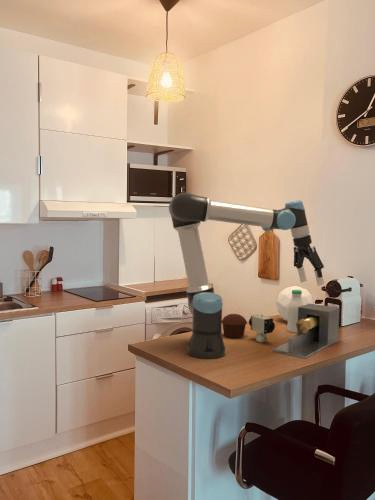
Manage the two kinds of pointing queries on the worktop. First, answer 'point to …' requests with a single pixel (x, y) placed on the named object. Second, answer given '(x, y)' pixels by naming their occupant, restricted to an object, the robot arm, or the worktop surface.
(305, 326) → the golden cylinder
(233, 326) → the muffin
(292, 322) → the milk bottle
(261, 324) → the pneumatic valve
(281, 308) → the ball
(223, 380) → the worktop surface
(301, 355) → the housing
